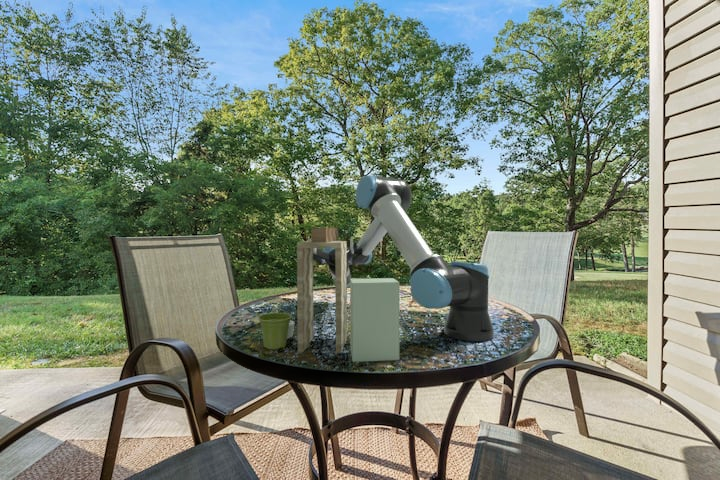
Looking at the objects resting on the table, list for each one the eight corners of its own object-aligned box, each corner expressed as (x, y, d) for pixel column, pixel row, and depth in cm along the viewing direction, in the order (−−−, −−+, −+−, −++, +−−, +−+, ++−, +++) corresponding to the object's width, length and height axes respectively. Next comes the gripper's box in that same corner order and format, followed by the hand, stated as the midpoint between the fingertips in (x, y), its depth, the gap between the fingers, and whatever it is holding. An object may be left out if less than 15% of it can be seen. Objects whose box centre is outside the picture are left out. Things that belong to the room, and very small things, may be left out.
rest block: (393, 349, 99) (393, 278, 98) (399, 359, 91) (399, 282, 90) (350, 351, 98) (350, 278, 97) (352, 361, 90) (352, 283, 89)
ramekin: (300, 336, 111) (299, 323, 111) (274, 342, 105) (274, 328, 105) (285, 331, 118) (285, 318, 118) (260, 336, 112) (260, 322, 112)
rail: (326, 240, 120) (326, 228, 120) (338, 240, 119) (338, 228, 119) (311, 242, 96) (311, 227, 96) (326, 242, 95) (326, 227, 95)
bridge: (308, 336, 111) (308, 241, 110) (346, 337, 110) (346, 241, 109) (297, 352, 97) (297, 242, 96) (341, 353, 96) (340, 242, 95)
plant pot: (294, 341, 107) (294, 312, 106) (289, 351, 97) (288, 320, 97) (262, 341, 106) (262, 312, 106) (254, 352, 97) (254, 320, 97)
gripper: (370, 276, 137) (367, 251, 118) (307, 276, 139) (294, 251, 120) (370, 258, 141) (368, 232, 122) (309, 258, 143) (297, 232, 124)
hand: (331, 241), depth 121 cm, fingers open, 13 cm apart
